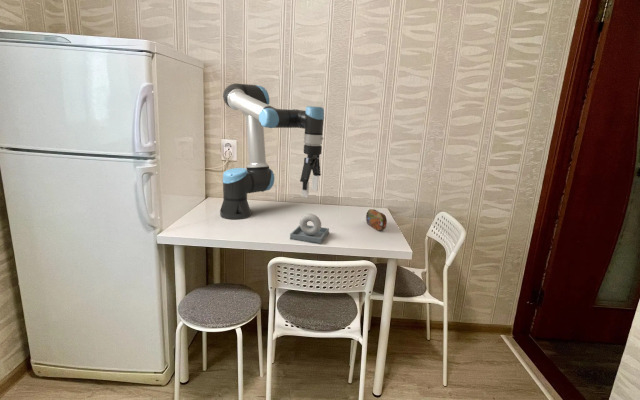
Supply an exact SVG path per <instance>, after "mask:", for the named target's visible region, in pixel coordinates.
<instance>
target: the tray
mask: <svg viewBox="0 0 640 400" xmlns="http://www.w3.org/2000/svg"><path fill="white" fill-rule="evenodd" d="M307 226H308V227H310V228H313V227H314V225H308V224H307ZM329 231H330V228H328V227H322V226H321V229H320V231H319V232H318V233H317V234H315V235H307V234H305V233H304V232H303V231H302V230H301V228H300V224H299V225H298V226H296V228H295V229H294V230H293V231H292V232H291V233H289V240H293V241H298V242H304V243H305V242H306V243H309V244H316V245H321V244H322V243H323V242H324V241H325V239H326V237H328V235H329Z"/></svg>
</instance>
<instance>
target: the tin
mask: <svg viewBox="0 0 640 400" xmlns="http://www.w3.org/2000/svg"><path fill="white" fill-rule="evenodd" d="M365 220H366V223H367V225H368V226H369V227H371V228H372V229H375V230H376V231H377V232H378V231H383V230H385V229H386V228H387V223H388V222H387V221H388V219H387V217H386V215H385V214H384V213H383V212H380V211H379V210H377V209H375V208H374V209H370V208H369V209H368V210H367V212H366V215H365Z"/></svg>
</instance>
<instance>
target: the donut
mask: <svg viewBox="0 0 640 400" xmlns="http://www.w3.org/2000/svg"><path fill="white" fill-rule="evenodd" d="M308 222H311V223H312V224H313V226H314V227H313V228H310V227H308V226H307V225H308ZM299 225H300V228H301V230H302V231H303V232H304V233H305V234H307V235H315V234H317V233H318V232H319V231H320V229H321V227H322V222H321V219H320V217H318V216H317V215H316V214H314V213H306V214H304V215H303V216H301V217H300V220H299Z"/></svg>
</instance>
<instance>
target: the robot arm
mask: <svg viewBox="0 0 640 400" xmlns="http://www.w3.org/2000/svg"><path fill="white" fill-rule="evenodd" d="M222 98H223V102H224V103H225V105H226V106H227V107H228V108H231V109H232V110H237V111H238V110H239V111H241V113H242V114H243V115H244V116H245V125H246V126H245V127H246V137H247V138H246V139H247V152H248V153H247V154H248V164H247V165H246V168H244V167H234V168H229V169H227V170H225V171H224V172H223V175H222V188H223V189H222V191H223V192H222V194H223V201H222V204H221V207H220V210H219V214H220V215H219V216H220V217H221V218H222V219H227V220H241V219H246V218H249V217H250V216H251V214H252V213H251V207H250V205H249V202H248V201H249V200H248V194H252V193H253V194H254V193H259V192H262V193H264V192H266V191H269V190H271V189H272V187H273V186H274V183H275V173H274V172H273V169H271V168H270V165H269V164H268V163H267V160H266V158H267V157H266V147H265V146H266V143H265V130H264V128H268V129H279V128H280V129H281V128H282V129H284V128H285V129H287V128H288V129H289V128H290V129H303V130H304V137H303V138H304V140H303V143H304V145H303V154H305V155H307V156H306V157H304V159H303V165H302V170H301V171H302V172H301V176H300V179H299V181H300V183H301V182H302V183H301V184H302V185H301V198H309V191H310V182H309V180H310V177H311V172H312V177H311V178H312V179H311V191H319V190H318V189H319V178H320V177H321V174H322V173H321V163H320V156H321V154H322V149H323V147H322V144H323V140H324V137H323V131H324V120H325V109H324V108H323V107H322V106H312V105H311V106H310V105H309V106H306V108H305V110H304V109H303V110H301V109H295V108H294V109H282V108H276V107H274V106H272V105H270V95H269V92H268V90H267V89H266V88H265V87H264V86H262V85H257V84H248V83H247V84H246V83H231V84H230V85H227V87H225V88H224V91H223V93H222ZM319 176H320V177H319Z"/></svg>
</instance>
